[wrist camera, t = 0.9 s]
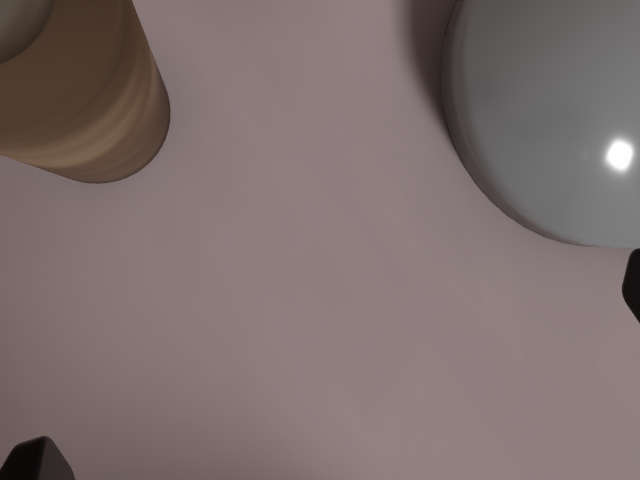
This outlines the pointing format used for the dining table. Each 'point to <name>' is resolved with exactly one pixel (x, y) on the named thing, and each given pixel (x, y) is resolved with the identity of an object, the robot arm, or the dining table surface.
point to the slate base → (549, 113)
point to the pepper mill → (79, 89)
